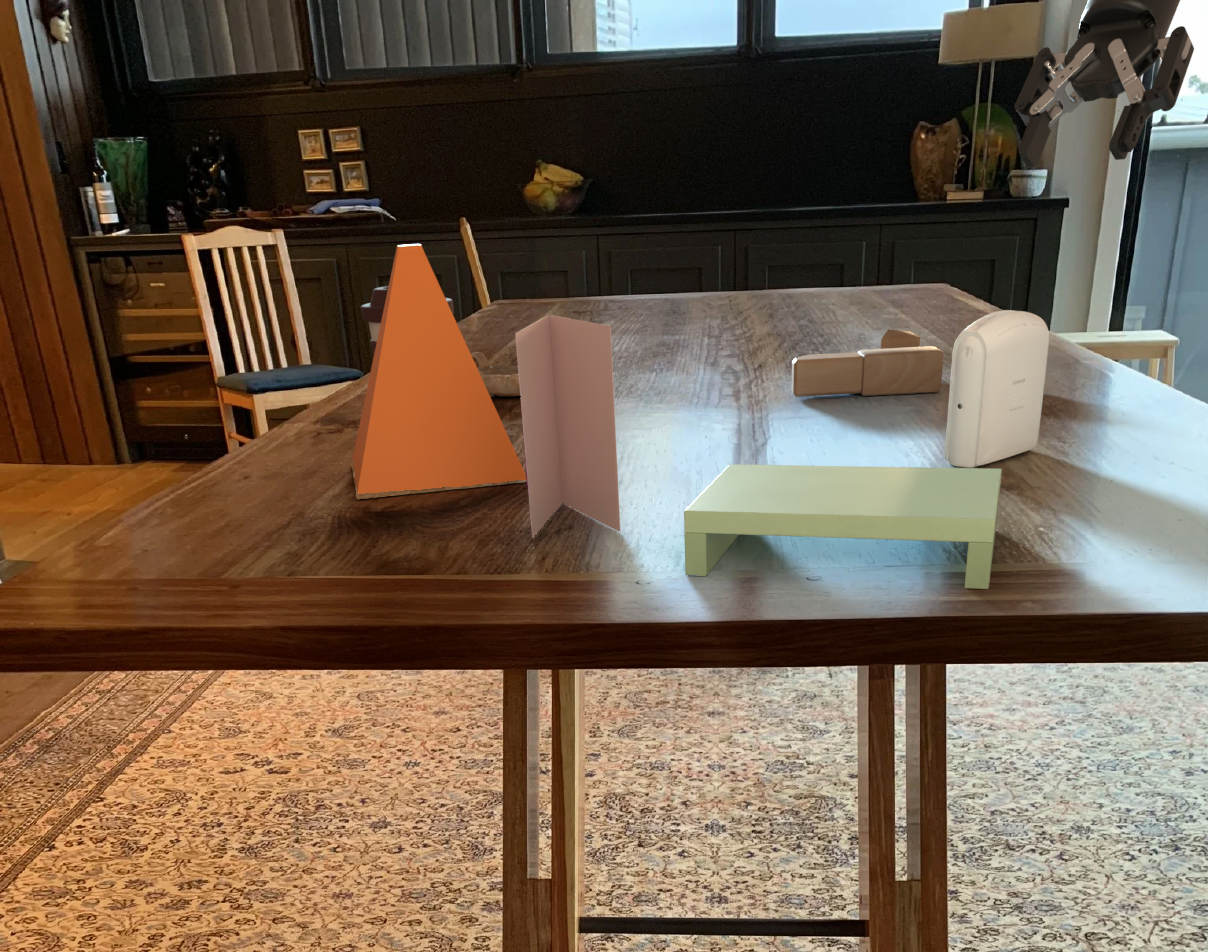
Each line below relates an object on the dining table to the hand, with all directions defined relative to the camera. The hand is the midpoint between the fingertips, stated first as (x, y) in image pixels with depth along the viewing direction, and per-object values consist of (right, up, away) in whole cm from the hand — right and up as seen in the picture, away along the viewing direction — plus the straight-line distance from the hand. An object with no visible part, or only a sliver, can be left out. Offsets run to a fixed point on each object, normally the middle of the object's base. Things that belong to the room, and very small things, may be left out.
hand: (1070, 158), depth 107 cm
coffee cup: (-62, -15, +29) cm, 71 cm away
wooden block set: (-11, -6, +40) cm, 42 cm away
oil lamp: (-55, -5, +47) cm, 72 cm away
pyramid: (-58, -26, +8) cm, 64 cm away
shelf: (-25, -40, -22) cm, 52 cm away
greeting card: (-44, -35, -10) cm, 57 cm away
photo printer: (-7, -26, +2) cm, 27 cm away
